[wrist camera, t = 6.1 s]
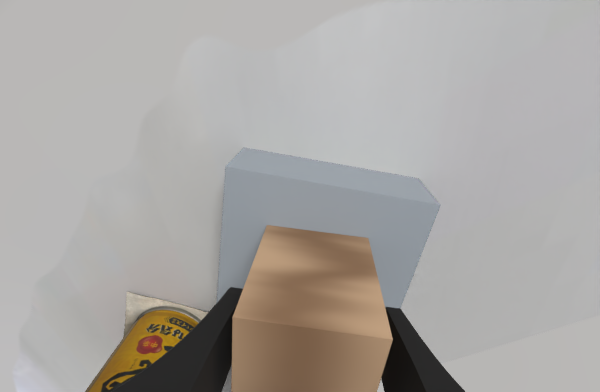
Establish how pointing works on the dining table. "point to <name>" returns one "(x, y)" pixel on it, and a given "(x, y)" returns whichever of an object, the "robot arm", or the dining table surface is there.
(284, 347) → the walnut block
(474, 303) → the dining table surface
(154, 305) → the condiment
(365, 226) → the slate box
